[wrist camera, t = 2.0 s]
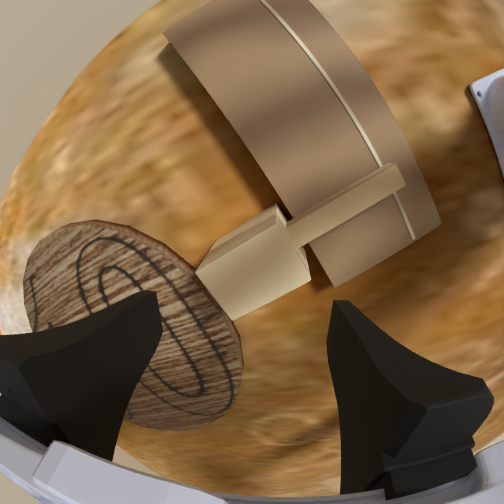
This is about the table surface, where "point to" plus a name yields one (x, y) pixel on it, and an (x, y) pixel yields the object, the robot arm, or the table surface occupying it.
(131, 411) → the trivet
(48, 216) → the table surface
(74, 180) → the table surface
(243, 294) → the beige block with handle
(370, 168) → the board
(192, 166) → the table surface
